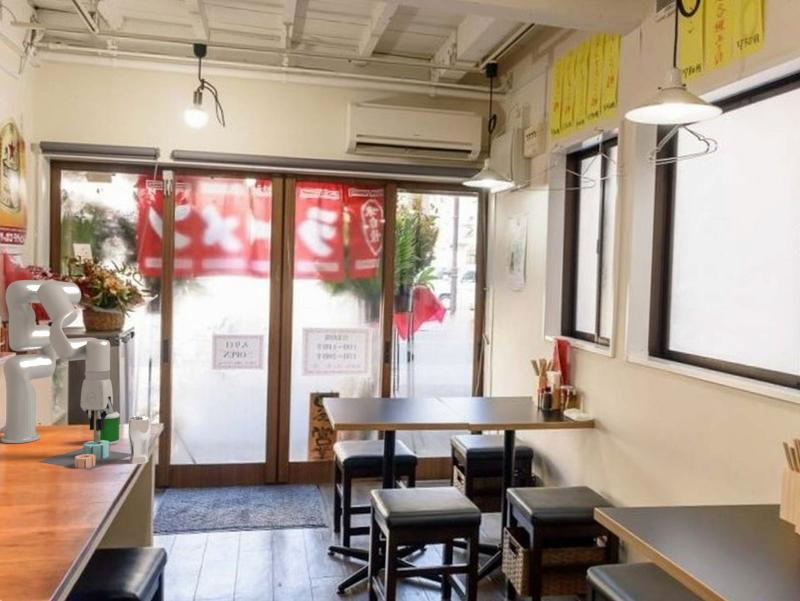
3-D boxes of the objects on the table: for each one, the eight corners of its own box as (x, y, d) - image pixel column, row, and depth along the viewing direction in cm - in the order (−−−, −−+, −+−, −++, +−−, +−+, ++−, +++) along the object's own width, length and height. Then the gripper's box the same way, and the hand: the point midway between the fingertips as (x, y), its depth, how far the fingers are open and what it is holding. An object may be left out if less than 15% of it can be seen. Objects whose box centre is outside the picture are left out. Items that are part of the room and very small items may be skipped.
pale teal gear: (77, 457, 217) (78, 444, 217) (96, 452, 224) (96, 439, 224) (96, 460, 214) (97, 447, 214) (114, 454, 222) (114, 441, 222)
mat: (36, 463, 211) (36, 461, 211) (84, 448, 230) (84, 447, 230) (90, 471, 204) (90, 469, 204) (134, 455, 223) (134, 454, 223)
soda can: (123, 442, 240) (123, 410, 239) (112, 447, 232) (112, 414, 232) (104, 441, 241) (104, 409, 240) (92, 446, 233) (92, 413, 233)
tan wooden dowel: (92, 441, 218) (92, 406, 218) (96, 440, 220) (97, 405, 220) (97, 442, 218) (97, 407, 217) (101, 440, 220) (101, 406, 219)
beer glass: (123, 463, 213) (124, 418, 213) (140, 458, 220) (141, 414, 219) (137, 466, 210) (138, 421, 210) (154, 461, 216) (155, 417, 216)
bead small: (71, 468, 205) (71, 458, 205) (80, 462, 211) (80, 453, 211) (90, 468, 205) (90, 459, 205) (98, 463, 211) (98, 454, 211)
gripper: (70, 375, 217) (70, 429, 218) (108, 379, 212) (107, 434, 213) (87, 373, 225) (87, 425, 225) (124, 376, 220) (123, 429, 220)
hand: (97, 429), depth 219 cm, fingers closed on tan wooden dowel, 2 cm apart
